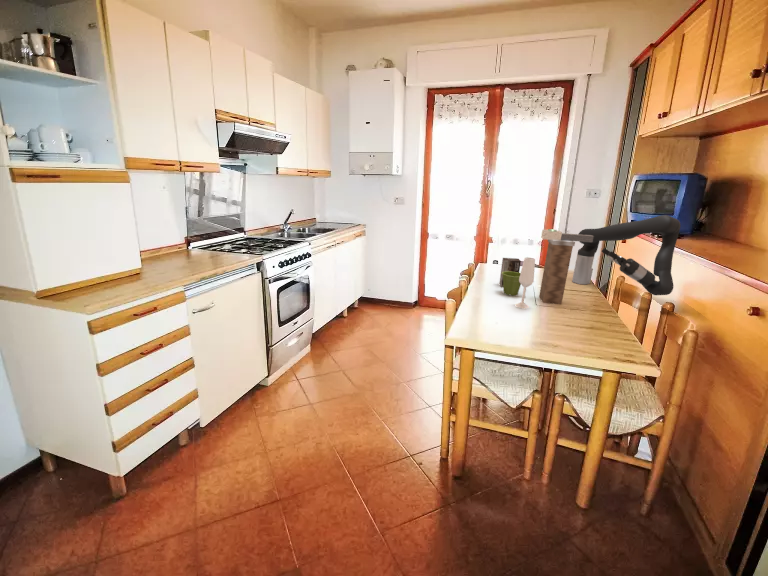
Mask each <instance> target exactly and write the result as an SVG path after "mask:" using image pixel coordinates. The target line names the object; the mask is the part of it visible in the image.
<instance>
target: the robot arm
mask: <svg viewBox="0 0 768 576" xmlns="http://www.w3.org/2000/svg"><path fill="white" fill-rule="evenodd" d="M680 230H681V222H680V220H679V219H677V218H676V217H673V216H671V215H668V214H663V215H657V216H654V217H651V218H646V219H642V220H635V221H628V222H622V223H620V222H619V223H616V224H611V225H608V226H607V225H606V226H603V227H599V228H585V229H582V230H580V231H579V233H578V234H580V235H592V236H594V237H593V242H581V241H578V242H579V243H580V244H582V246H581V248H579V249H578V250H577V253H576V259H575V263H574V264H575V266H574V269H573V274H572V279H571V281H572V283H575V284H578V285H579V284H580V285H589V284H590V283H591V280H592V277H593V276H592V275H593V270H594V269H593V264H594V259H595V255H596V253H597V251H598V248H599V245H600V242H603V241H604V242H609V241H611V242H615V241H625V240H632V239H634V238H636V237H639V236H640V235H645V234H660V235H661V245H660V249H659V250H658V252H657V253H656V256H655V258H654V262H653V263H654V264H653V272H652V271H650V270H649V269H647V268H646V267H644V266H643V265H642V264H641V263H639V262H637V260H634V259H633V258H627V259H626V258H625V257H623V256H621V255H618V254H617V253H616V252H613V251H612V250H611V251H610V250H608V249H607V248H606V247H603V249H601V252H602V254H604V255H606V256H607V258H610V260H611V261H612V262H614V263H615V264H616V265H618V266H619V271H620V272H621V273H623V274H624V275H626V276H627V277H629V278H631V279H632V280H634V281H636V282H637V283H638V284H640V285H642V287H643V288H644V289H645V291H647V292H648V294H650V295H653V296H668V295H670V294H671V293H672V292H673V290H674V282H673V281H674V280H673V276H672V266H673V258H674V251H675V248H676V244H677V240H678V238H679V233H680V232H681V231H680ZM656 277H658V280H656Z"/></svg>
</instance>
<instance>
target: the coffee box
mask: <svg viewBox="0 0 768 576" xmlns="http://www.w3.org/2000/svg"><path fill="white" fill-rule="evenodd" d="M521 262H522V261H521V260H520V259H519V258H515V257H513V258H512V257H502V261H501V269H500V277H499V282H498V283H499V284H500V285H499V287H501V288H503V274H502V272H505V271H511V272H518V273H520V271H521V270H520V269H521Z"/></svg>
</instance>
